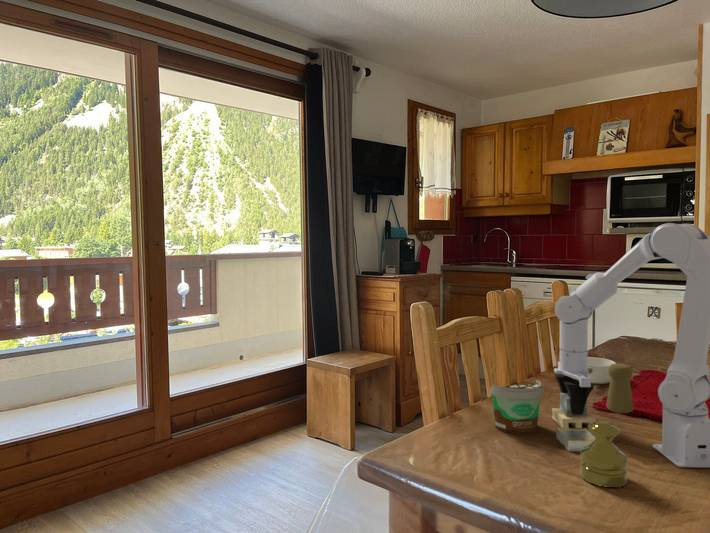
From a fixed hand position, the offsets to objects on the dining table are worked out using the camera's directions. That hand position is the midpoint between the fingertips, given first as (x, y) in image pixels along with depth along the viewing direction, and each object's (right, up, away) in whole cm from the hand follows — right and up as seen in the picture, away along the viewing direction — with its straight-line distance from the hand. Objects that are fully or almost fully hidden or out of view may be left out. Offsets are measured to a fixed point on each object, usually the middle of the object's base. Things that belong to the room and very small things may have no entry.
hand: (573, 410), depth 114 cm
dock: (-4, -4, -11) cm, 12 cm away
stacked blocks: (0, -3, 0) cm, 3 cm away
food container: (-12, -4, -3) cm, 13 cm away
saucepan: (+19, -2, +33) cm, 38 cm away
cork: (+16, -3, +10) cm, 19 cm away
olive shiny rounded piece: (-6, -5, -25) cm, 27 cm away
